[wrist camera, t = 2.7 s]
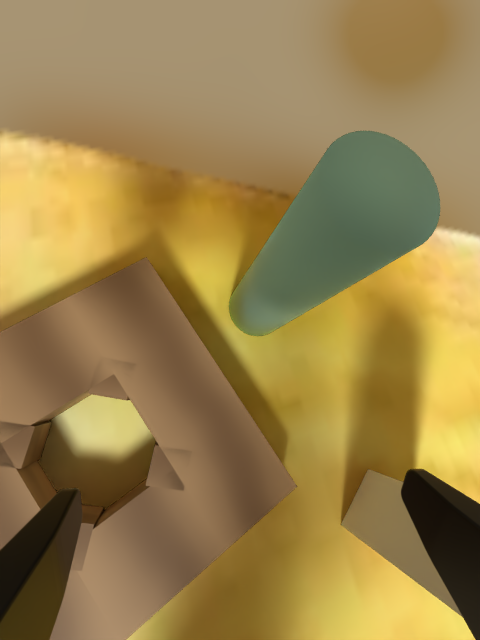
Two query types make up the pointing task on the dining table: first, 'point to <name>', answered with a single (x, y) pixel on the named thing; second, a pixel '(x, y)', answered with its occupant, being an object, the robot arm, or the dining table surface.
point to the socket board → (168, 456)
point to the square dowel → (393, 532)
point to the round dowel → (339, 230)
